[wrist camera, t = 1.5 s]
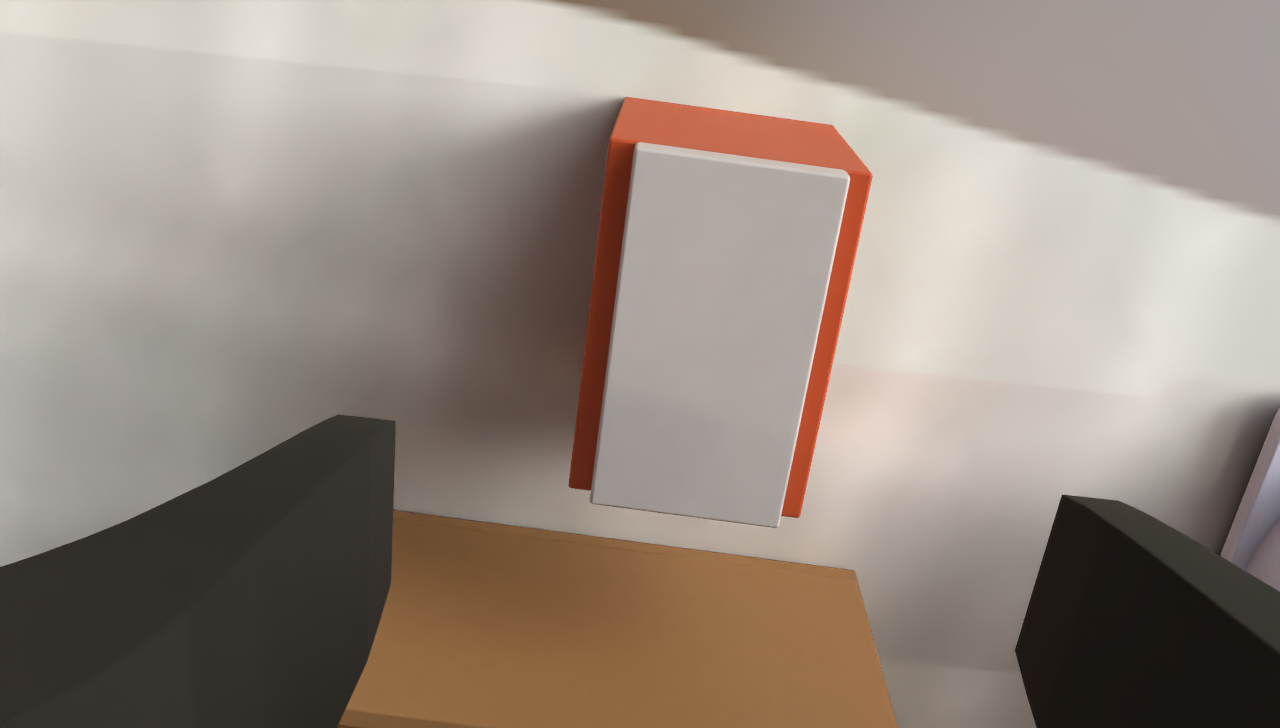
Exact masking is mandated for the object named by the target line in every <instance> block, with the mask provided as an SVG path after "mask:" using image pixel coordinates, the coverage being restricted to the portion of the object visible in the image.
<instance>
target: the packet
mask: <svg viewBox="0 0 1280 728" xmlns="http://www.w3.org/2000/svg"><path fill="white" fill-rule="evenodd" d="M871 181H872V173H871V172H870V171H869V170H868V168H867V167H866V166H865V165H864V163H863V162H862V161H861V160H860V159H859V157H858V156H857V155H856V154H855V152H854V151H853V150H852V149H851V147H850V146H849V145H848V144H847V143H846V141H845V140H844V139H843V138H842V136H841V135H840V134H839V133H838V131H837V130H836V129H835V128H834V127H833V126H832V125H827V124H820V123H813V122H805V121H798V120H791V119H783V118H776V117H769V116H762V115H754V114H747V113H740V112H732V111H725V110H718V109H710V108H703V107H696V106H689V105H681V104H674V103H667V102H659V101H652V100H645V99H638V98H630V97H625V99H624V101H623V104H622V106H621V109H620V112H619V114H618V117H617V120H616V123H615V125H614V128H613V131H612V133H611V136H610V139H609V144H608V153H607V161H606V170H605V179H604V187H603V196H602V204H601V213H600V221H599V230H598V238H597V247H596V255H595V264H594V272H593V281H592V290H591V298H590V307H589V315H588V324H587V332H586V341H585V349H584V358H583V366H582V375H581V384H580V392H579V401H578V409H577V418H576V426H575V435H574V443H573V452H572V460H571V469H570V477H569V487H570V488H575V489H583V490H590V491H591V495H590V502H591V503H592V504H598V505H605V506H613V507H621V508H628V509H636V510H643V511H651V512H659V513H666V514H674V515H681V516H689V517H696V518H704V519H712V520H719V521H727V522H734V523H742V524H750V525H757V526H765V527H772V528H778V526H779V524H780V519H781V516H788V517H795V518H798V517H799V516H800V513H801V509H802V504H803V499H804V495H805V490H806V485H807V480H808V476H809V471H810V466H811V462H812V457H813V452H814V448H815V443H816V438H817V434H818V429H819V424H820V420H821V415H822V410H823V406H824V401H825V396H826V391H827V387H828V382H829V377H830V373H831V368H832V363H833V359H834V354H835V349H836V345H837V340H838V335H839V331H840V326H841V321H842V317H843V312H844V307H845V302H846V298H847V293H848V288H849V284H850V279H851V274H852V270H853V265H854V260H855V256H856V251H857V246H858V242H859V237H860V232H861V228H862V223H863V218H864V213H865V209H866V204H867V199H868V195H869V190H870V185H871Z"/></svg>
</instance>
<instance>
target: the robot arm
mask: <svg viewBox="0 0 1280 728" xmlns="http://www.w3.org/2000/svg"><path fill="white" fill-rule="evenodd" d="M394 457H395V421H391V420H382V419H373V418H364V417H355V416H346V415H336V416H334V417H331V418H329V419H327V420H325V421H322V422H320V423H318V424H316V425H314V426H313V427H311V428H309V429H307V430H305V431H303V432H301V433H299V434H297V435H296V436H294V437H292V438H290V439H288V440H286V441H285V442H283V443H281V444H279V445H277V446H276V447H274V448H272V449H270V450H268V451H266V452H264V453H263V454H261V455H259V456H257V457H255V458H253V459H251V460H250V461H248V462H246V463H244V464H242V465H240V466H238V467H236V468H235V469H233V470H231V471H229V472H227V473H225V474H223V475H221V476H220V477H218V478H216V479H214V480H212V481H210V482H208V483H206V484H203V485H201V486H199V487H197V488H195V489H193V490H191V491H189V492H187V493H184V494H182V495H180V496H178V497H176V498H174V499H172V500H170V501H168V502H165V503H163V504H161V505H159V506H157V507H155V508H153V509H151V510H149V511H147V512H144V513H142V514H140V515H138V516H136V517H134V518H131V519H129V520H127V521H124V522H122V523H120V524H117V525H115V526H113V527H110V528H108V529H105V530H103V531H100V532H98V533H95V534H93V535H90V536H88V537H85V538H82V539H80V540H77V541H74V542H72V543H69V544H66V545H63V546H61V547H58V548H55V549H52V550H50V551H47V552H44V553H41V554H39V555H36V556H33V557H30V558H27V559H24V560H21V561H18V562H15V563H12V564H9V565H5V566H2V567H0V728H337V726H338V724H339V722H340V720H341V718H342V716H343V713H344V711H345V709H346V707H347V705H348V703H349V700H350V698H351V696H352V694H353V692H354V690H355V687H356V685H357V683H358V681H359V679H360V676H361V674H362V672H363V670H364V667H365V665H366V663H367V660H368V657H369V654H370V651H371V648H372V645H373V642H374V638H375V635H376V632H377V629H378V626H379V622H380V619H381V616H382V612H383V609H384V606H385V602H386V599H387V595H388V592H389V589H390V585H391V567H392V530H393V494H394ZM1015 652H1016V656H1017V660H1018V664H1019V668H1020V671H1021V675H1022V679H1023V683H1024V687H1025V690H1026V694H1027V697H1028V701H1029V704H1030V707H1031V710H1032V714H1033V717H1034V720H1035V724H1036V727H1037V728H1280V408H1279V409H1278V411H1277V413H1276V414H1275V417H1274V419H1273V422H1272V424H1271V427H1270V430H1269V432H1268V435H1267V437H1266V440H1265V442H1264V445H1263V447H1262V450H1261V452H1260V455H1259V458H1258V460H1257V463H1256V465H1255V468H1254V470H1253V473H1252V475H1251V478H1250V480H1249V483H1248V486H1247V488H1246V491H1245V493H1244V496H1243V498H1242V501H1241V503H1240V506H1239V509H1238V511H1237V514H1236V516H1235V519H1234V521H1233V524H1232V526H1231V529H1230V531H1229V534H1228V537H1227V539H1226V542H1225V544H1224V547H1223V549H1222V552H1221V554H1220V555H1218V554H1216V553H1215V552H1213V551H1211V550H1210V549H1208V548H1206V547H1205V546H1203V545H1201V544H1199V543H1198V542H1196V541H1194V540H1193V539H1191V538H1189V537H1188V536H1186V535H1184V534H1182V533H1181V532H1179V531H1177V530H1175V529H1174V528H1172V527H1170V526H1168V525H1167V524H1165V523H1163V522H1161V521H1159V520H1158V519H1156V518H1154V517H1152V516H1150V515H1148V514H1146V513H1144V512H1142V511H1140V510H1138V509H1136V508H1134V507H1131V506H1129V505H1127V504H1124V503H1122V502H1119V501H1115V500H1106V499H1097V498H1088V497H1079V496H1069V495H1062V497H1061V500H1060V503H1059V506H1058V510H1057V513H1056V516H1055V520H1054V523H1053V526H1052V529H1051V533H1050V536H1049V539H1048V543H1047V546H1046V549H1045V553H1044V556H1043V559H1042V562H1041V566H1040V569H1039V572H1038V576H1037V579H1036V582H1035V585H1034V589H1033V592H1032V595H1031V599H1030V602H1029V605H1028V609H1027V612H1026V615H1025V618H1024V622H1023V625H1022V628H1021V632H1020V635H1019V638H1018V641H1017V645H1016V648H1015Z"/></svg>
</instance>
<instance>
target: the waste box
mask: <svg viewBox="0 0 1280 728" xmlns="http://www.w3.org/2000/svg"><path fill="white" fill-rule="evenodd" d="M337 728H898V727H897V723H896V720H895V716H894V712H893V709H892V705H891V701H890V698H889V694H888V690H887V687H886V683H885V679H884V676H883V672H882V668H881V665H880V661H879V658H878V654H877V650H876V647H875V643H874V639H873V636H872V632H871V628H870V625H869V621H868V617H867V614H866V610H865V606H864V603H863V599H862V595H861V592H860V588H859V584H858V581H857V577H856V573H855V571H853V570H845V569H838V568H830V567H823V566H815V565H807V564H800V563H792V562H785V561H777V560H769V559H762V558H754V557H746V556H739V555H731V554H724V553H716V552H708V551H701V550H693V549H686V548H678V547H670V546H663V545H655V544H648V543H640V542H632V541H625V540H617V539H609V538H602V537H594V536H587V535H579V534H571V533H564V532H556V531H549V530H541V529H533V528H526V527H518V526H511V525H503V524H495V523H488V522H480V521H472V520H465V519H457V518H450V517H442V516H434V515H427V514H419V513H412V512H404V511H396V510H393V530H392V567H391V585H390V589H389V592H388V595H387V599H386V602H385V606H384V609H383V612H382V616H381V619H380V622H379V626H378V629H377V632H376V635H375V638H374V642H373V645H372V648H371V651H370V654H369V657H368V660H367V663H366V665H365V667H364V670H363V672H362V674H361V676H360V679H359V681H358V683H357V685H356V687H355V690H354V692H353V694H352V696H351V698H350V700H349V703H348V705H347V707H346V709H345V711H344V713H343V716H342V718H341V720H340V722H339V724H338V726H337Z"/></svg>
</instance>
